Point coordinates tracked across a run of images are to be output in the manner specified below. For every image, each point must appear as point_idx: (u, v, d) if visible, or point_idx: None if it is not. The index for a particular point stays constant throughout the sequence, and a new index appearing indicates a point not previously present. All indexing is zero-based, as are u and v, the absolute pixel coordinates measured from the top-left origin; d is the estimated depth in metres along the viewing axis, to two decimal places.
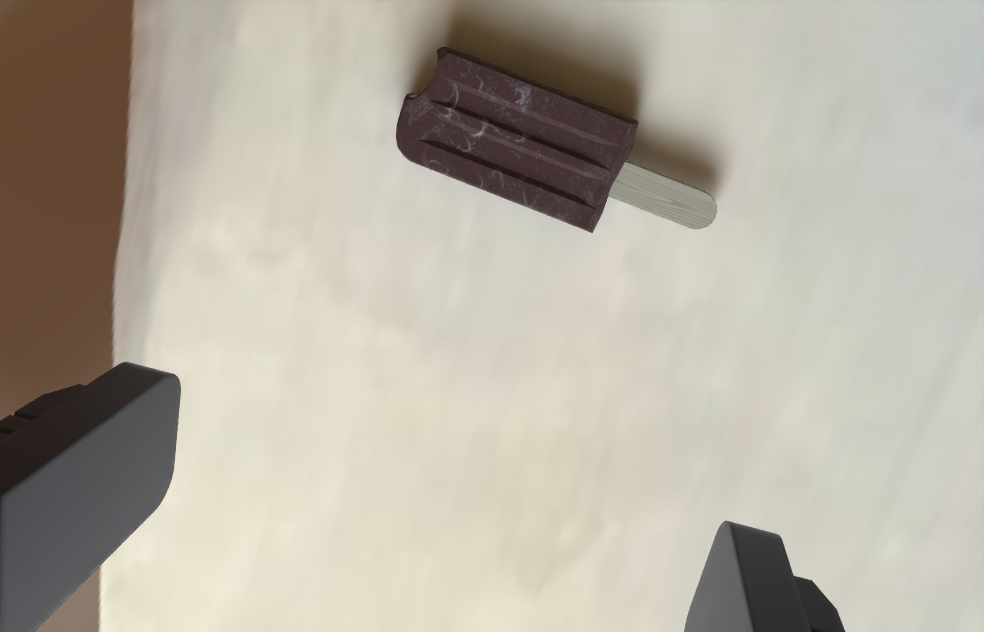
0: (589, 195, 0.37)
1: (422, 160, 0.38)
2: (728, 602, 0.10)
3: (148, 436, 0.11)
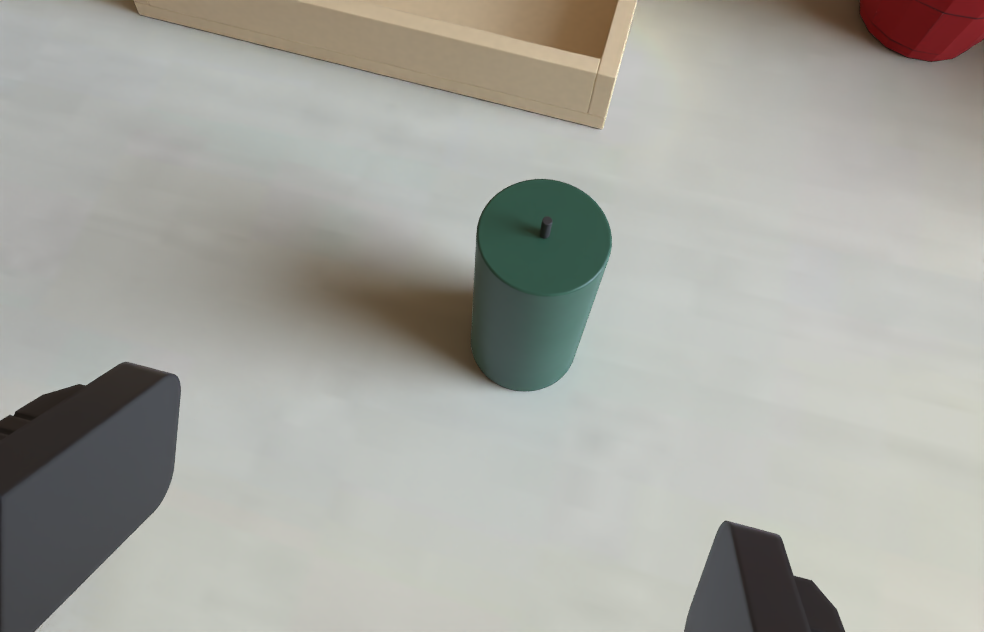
0: None
1: None
2: (728, 602, 0.10)
3: (147, 436, 0.11)
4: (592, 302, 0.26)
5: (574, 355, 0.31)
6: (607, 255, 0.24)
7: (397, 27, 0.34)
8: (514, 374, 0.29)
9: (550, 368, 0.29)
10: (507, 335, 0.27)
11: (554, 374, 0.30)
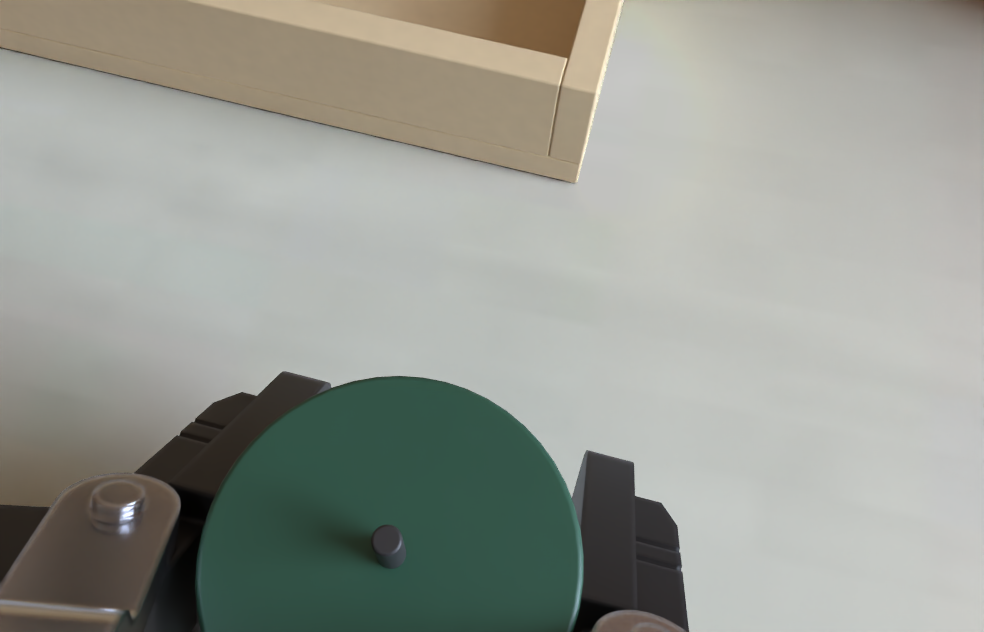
0: None
1: None
2: None
3: None
4: None
5: None
6: (571, 618, 0.08)
7: (186, 4, 0.18)
8: None
9: None
10: None
11: None
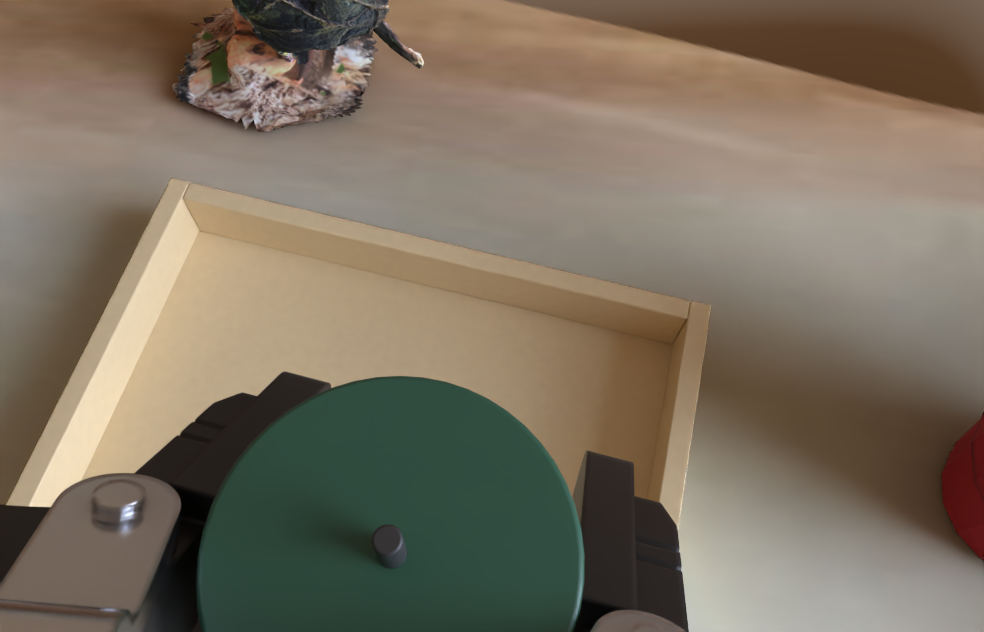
0: None
1: None
2: None
3: None
4: None
5: None
6: (572, 618, 0.08)
7: None
8: None
9: None
10: None
11: None
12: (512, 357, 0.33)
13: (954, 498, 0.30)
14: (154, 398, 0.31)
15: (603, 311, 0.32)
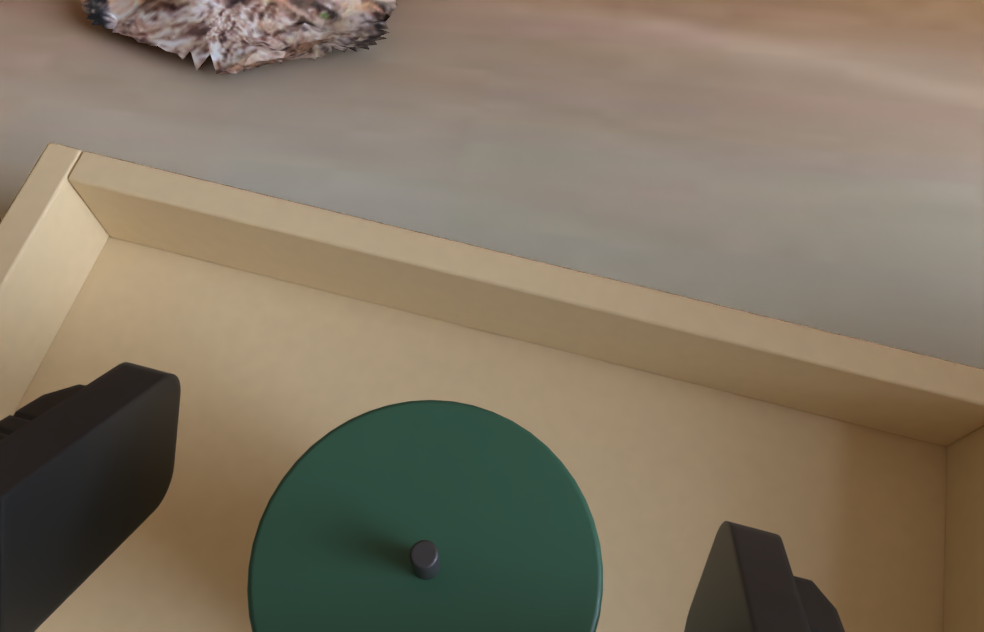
0: None
1: None
2: (728, 602, 0.10)
3: (147, 436, 0.11)
4: None
5: None
6: (592, 626, 0.09)
7: None
8: None
9: None
10: None
11: None
12: (662, 470, 0.18)
13: None
14: None
15: (835, 391, 0.17)
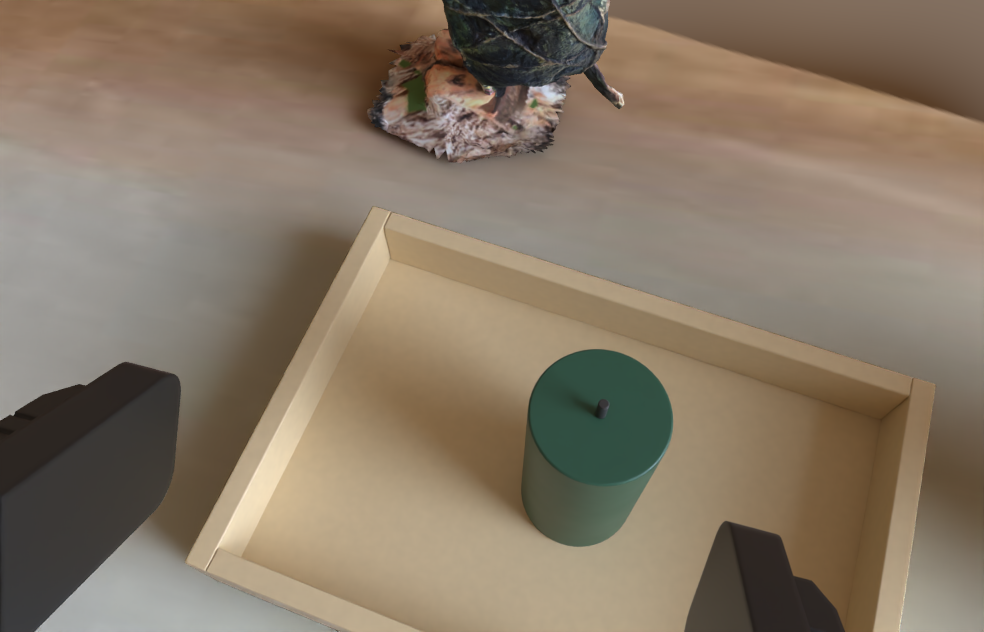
0: None
1: None
2: (728, 602, 0.10)
3: (147, 436, 0.11)
4: (649, 479, 0.24)
5: None
6: (667, 442, 0.22)
7: None
8: (563, 534, 0.28)
9: (602, 531, 0.27)
10: (556, 505, 0.25)
11: (606, 534, 0.28)
12: (707, 418, 0.31)
13: None
14: (341, 427, 0.31)
15: (812, 379, 0.30)
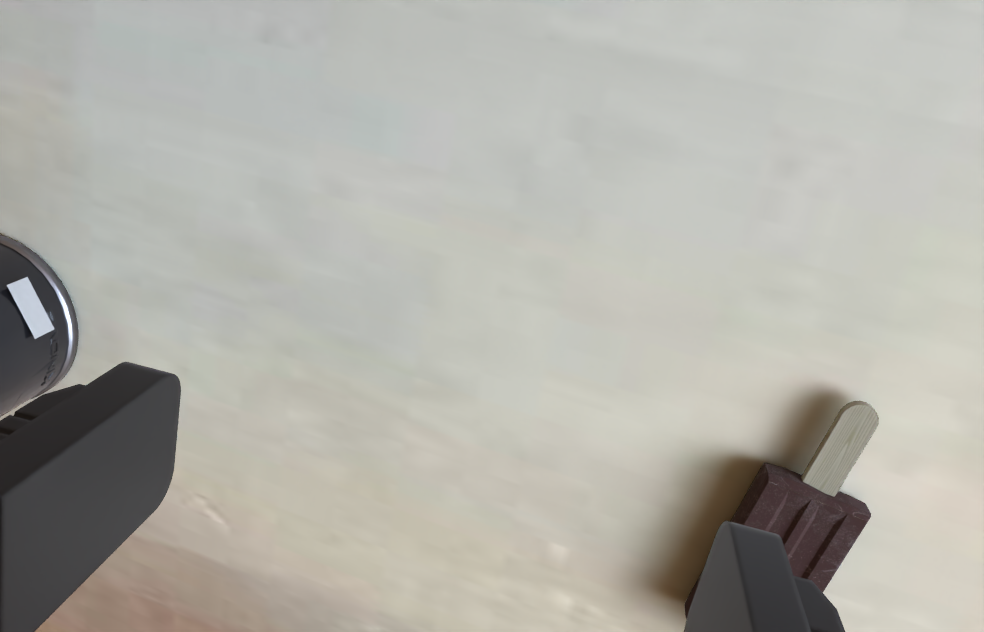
0: (833, 517, 0.40)
1: None
2: (728, 602, 0.10)
3: (147, 437, 0.11)
4: None
5: None
6: None
7: None
8: None
9: None
10: None
11: None
12: None
13: None
14: None
15: None
